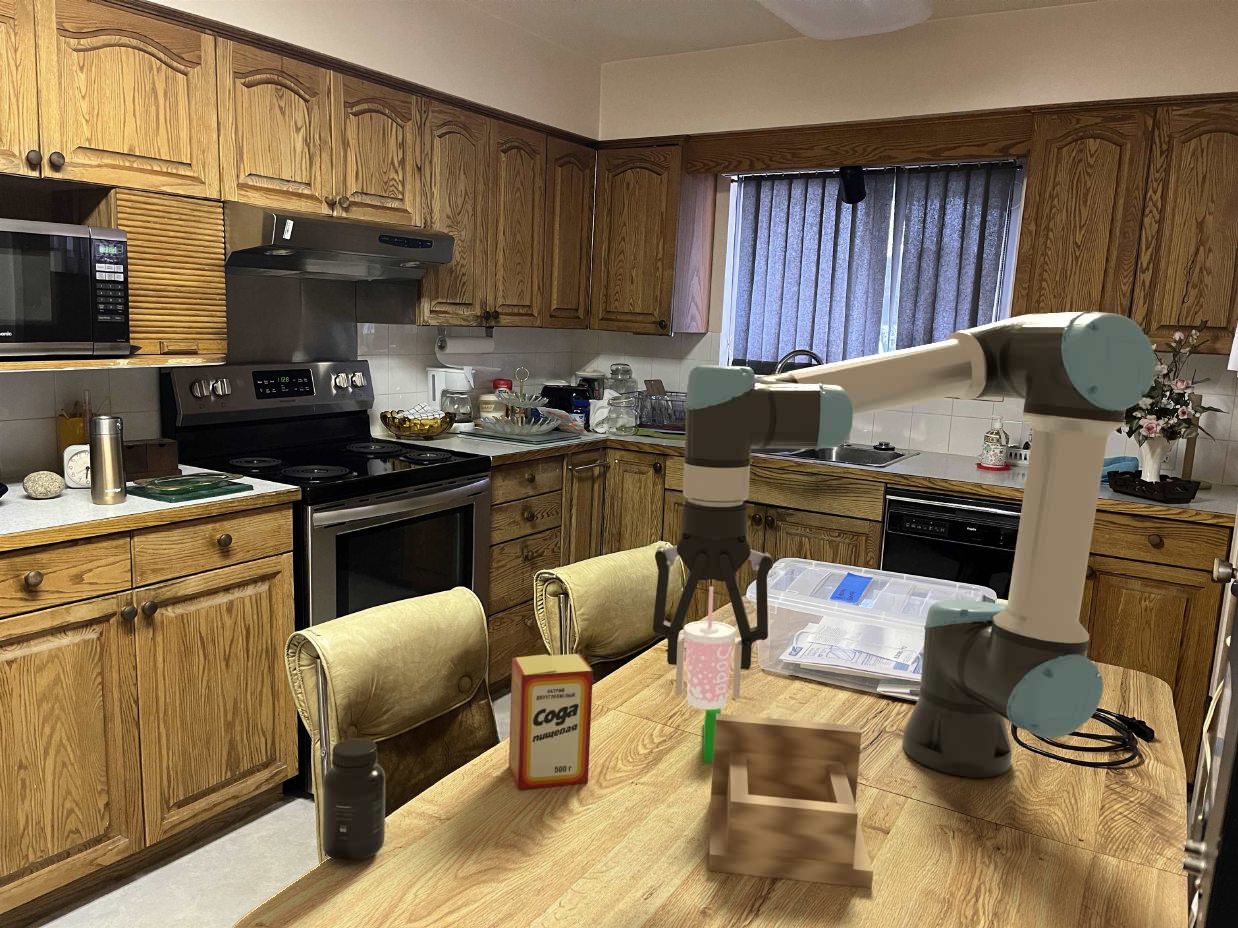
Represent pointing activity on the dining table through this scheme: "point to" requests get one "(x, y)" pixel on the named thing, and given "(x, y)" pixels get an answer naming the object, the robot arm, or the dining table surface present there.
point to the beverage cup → (708, 660)
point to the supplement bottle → (353, 802)
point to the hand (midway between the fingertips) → (707, 691)
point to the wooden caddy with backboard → (787, 801)
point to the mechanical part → (709, 734)
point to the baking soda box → (550, 720)
